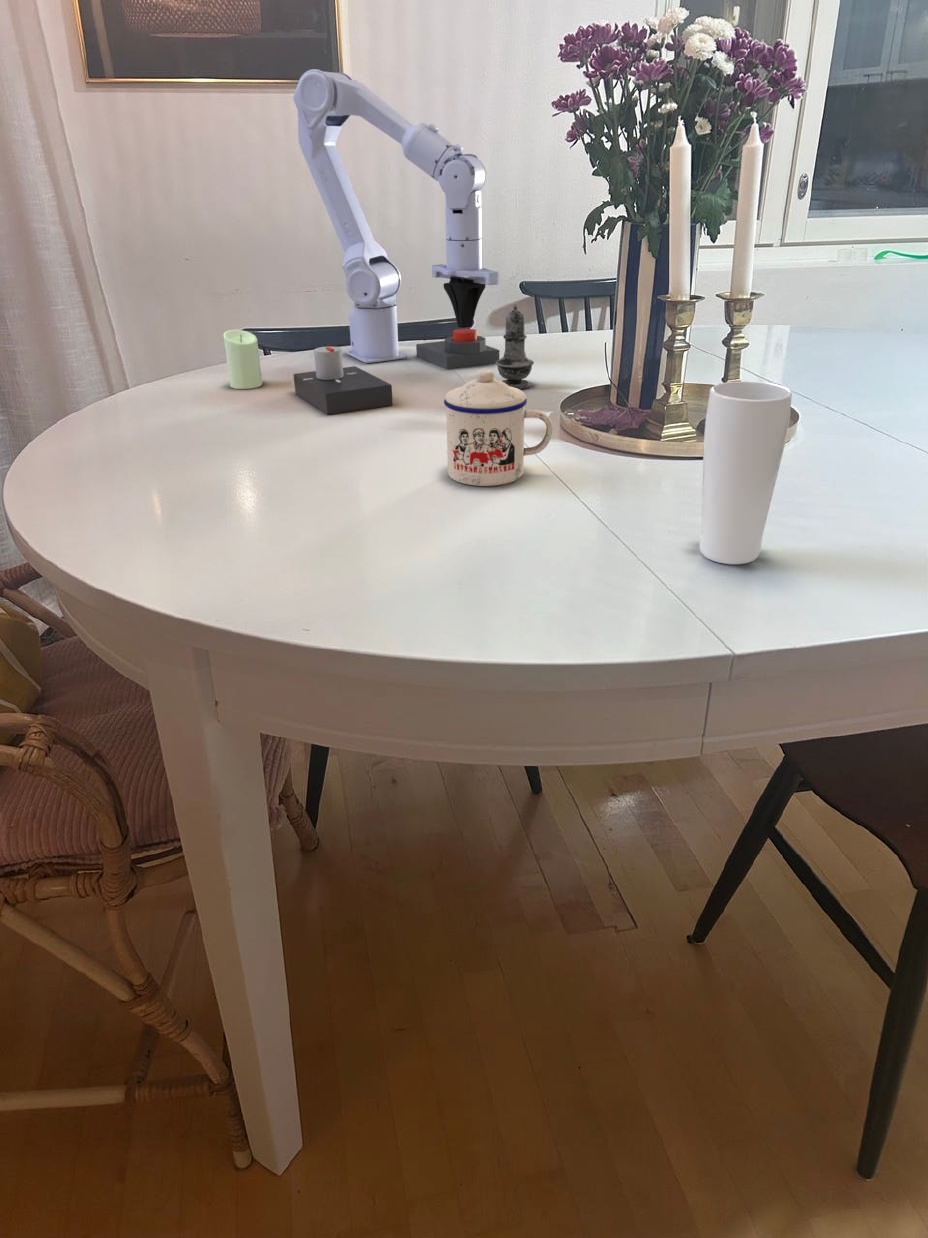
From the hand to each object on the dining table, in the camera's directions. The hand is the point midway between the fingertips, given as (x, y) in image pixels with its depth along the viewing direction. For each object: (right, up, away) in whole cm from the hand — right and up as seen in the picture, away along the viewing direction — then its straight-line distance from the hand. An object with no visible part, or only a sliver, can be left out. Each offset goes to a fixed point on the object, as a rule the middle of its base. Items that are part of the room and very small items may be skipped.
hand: (465, 326), depth 151 cm
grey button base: (-1, -4, +5) cm, 7 cm away
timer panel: (-18, -16, -18) cm, 30 cm away
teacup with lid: (+4, -33, -48) cm, 58 cm away
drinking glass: (+24, -43, -69) cm, 85 cm away
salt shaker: (+8, -13, -12) cm, 19 cm away
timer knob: (-20, -13, -18) cm, 30 cm away
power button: (0, -2, +1) cm, 2 cm away
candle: (-35, -12, -9) cm, 38 cm away
